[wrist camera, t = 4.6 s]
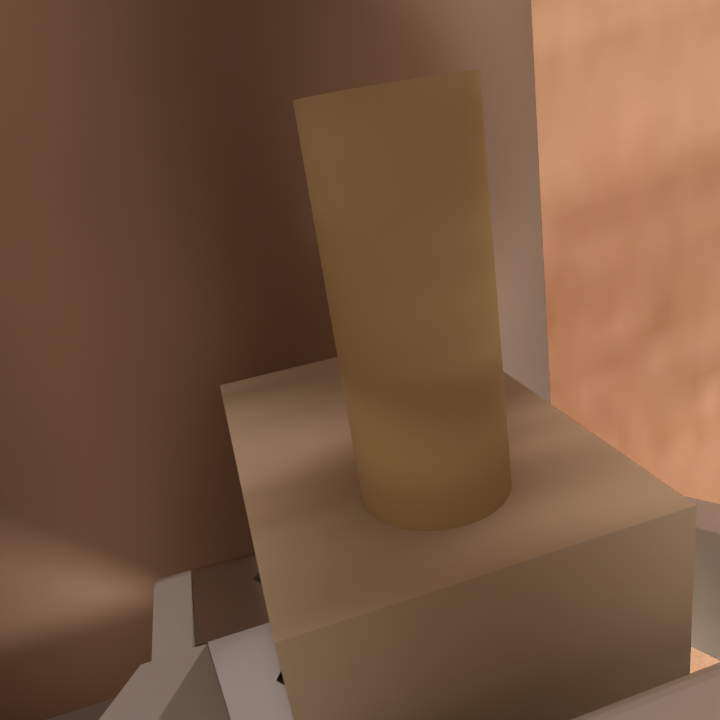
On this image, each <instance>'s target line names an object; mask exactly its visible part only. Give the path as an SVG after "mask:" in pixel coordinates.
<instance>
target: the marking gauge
mask: <svg viewBox="0 0 720 720" xmlns="http://www.w3.org/2000/svg"><path fill="white" fill-rule="evenodd" d="M293 105H294V111H295V116H296V122H297V128H298V134H299V139H300V145H301V151H302V157H303V162H304V168H305V174H306V179H307V185H308V191H309V197H310V202H311V208H312V214H313V219H314V225H315V231H316V237H317V242H318V248H319V254H320V260H321V265H322V271H323V277H324V282H325V288H326V294H327V300H328V305H329V311H330V317H331V322H332V328H333V334H334V340H335V345H336V351H337V357H335V358H331V359H327V360H323V361H318V362H314V363H310V364H306V365H302V366H298V367H294V368H289V369H285V370H281V371H277V372H273V373H269V374H264V375H260V376H256V377H252V378H248V379H244V380H240V381H235V382H231V383H227V384H223V385H220V389H221V393H222V398H223V403H224V408H225V412H226V417H227V422H228V427H229V431H230V436H231V441H232V446H233V450H234V455H235V460H236V465H237V469H238V474H239V479H240V484H241V488H242V493H243V498H244V503H245V507H246V512H247V517H248V522H249V526H250V531H251V536H252V541H253V545H254V550H255V555H256V560H257V564H258V569H259V574H260V579H261V583H262V588H263V593H264V598H265V602H266V607H267V612H268V617H269V621H270V626H271V631H272V636H273V640H274V645H275V649H276V653H277V657H278V660H279V664H280V668H281V672H282V676H283V680H284V684H285V688H286V692H287V696H288V700H289V703H290V707H291V711H292V715H293V719H294V720H571V719H573V718H576V717H579V716H581V715H584V714H586V713H589V712H592V711H594V710H597V709H599V708H602V707H605V706H607V705H610V704H612V703H615V702H618V701H620V700H623V699H625V698H628V697H631V696H633V695H636V694H638V693H641V692H644V691H646V690H649V689H651V688H654V687H657V686H659V685H662V684H665V683H667V682H670V681H672V680H675V679H678V678H680V677H683V676H686V675H688V674H690V653H691V629H692V604H693V580H694V556H695V531H696V507H697V505H696V504H694V503H693V502H691V501H690V500H688V499H687V498H686V497H684V496H683V495H681V494H680V493H678V492H677V491H675V490H674V489H673V488H671V487H670V486H668V485H667V484H665V483H664V482H663V481H661V480H660V479H658V478H657V477H655V476H654V475H652V474H651V473H650V472H648V471H647V470H645V469H644V468H642V467H641V466H639V465H638V464H637V463H635V462H634V461H632V460H631V459H629V458H628V457H626V456H625V455H624V454H622V453H621V452H619V451H618V450H616V449H615V448H613V447H612V446H611V445H609V444H608V443H606V442H605V441H603V440H602V439H601V438H599V437H598V436H596V435H595V434H593V433H592V432H590V431H589V430H588V429H586V428H585V427H583V426H582V425H580V424H579V423H577V422H576V421H575V420H573V419H572V418H570V417H569V416H567V415H566V414H564V413H563V412H562V411H560V410H559V409H557V408H556V407H554V406H553V405H551V404H550V403H549V402H547V401H546V400H544V399H543V398H541V397H540V396H539V395H537V394H536V393H534V392H533V391H531V390H530V389H528V388H527V387H526V386H524V385H523V384H521V383H520V382H518V381H517V380H515V379H514V378H513V377H511V376H510V375H508V374H507V373H505V372H504V371H503V365H502V352H501V339H500V326H499V313H498V300H497V287H496V274H495V261H494V249H493V236H492V223H491V210H490V197H489V184H488V171H487V158H486V146H485V133H484V120H483V107H482V94H481V81H480V70H470V71H462V72H454V73H447V74H440V75H433V76H427V77H420V78H414V79H407V80H401V81H395V82H389V83H383V84H377V85H371V86H365V87H359V88H353V89H347V90H342V91H336V92H331V93H325V94H320V95H315V96H310V97H305V98H300V99H296V100H293Z"/></svg>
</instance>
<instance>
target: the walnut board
mask: <svg viewBox="0 0 720 720" xmlns="http://www.w3.org/2000/svg"><path fill="white" fill-rule="evenodd" d="M470 70H480V81H481V94H482V107H483V120H484V133H485V146H486V158H487V171H488V184H489V197H490V210H491V223H492V236H493V249H494V261H495V274H496V287H497V300H498V313H499V326H500V339H501V352H502V365H503V371H504V372H505V373H507V374H508V375H510V376H511V377H513V378H514V379H515V380H517V381H518V382H520V383H521V384H523V385H524V386H526V387H527V388H528V389H530V390H531V391H533V392H534V393H536V394H537V395H539V396H540V397H541V398H543V399H544V400H546V401H547V402H549V403H550V404H551V401H550V381H549V361H548V340H547V320H546V300H545V280H544V259H543V239H542V219H541V199H540V178H539V158H538V138H537V118H536V98H535V77H534V57H533V37H532V17H531V0H0V720H99V719H100V717H101V716H102V715H103V714H104V712H105V711H106V710H107V708H108V707H109V706H110V704H111V703H112V702H113V700H114V699H115V698H116V696H117V695H118V694H119V693H120V691H121V690H122V689H123V687H124V686H125V685H126V683H127V682H128V681H129V679H130V678H131V677H132V675H133V674H134V673H135V672H136V670H137V669H138V668H139V666H140V665H141V664H144V663H147V662H150V661H151V660H152V632H153V604H154V586H155V584H156V582H157V580H158V579H162V578H165V577H168V576H172V575H175V574H179V573H182V572H185V571H189V570H190V571H193V569H196V568H200V567H204V566H207V565H211V564H215V563H218V562H222V561H226V560H229V559H233V558H237V557H240V556H244V555H248V554H251V553H255V550H254V545H253V541H252V536H251V531H250V526H249V522H248V517H247V512H246V507H245V503H244V498H243V493H242V488H241V484H240V479H239V474H238V469H237V465H236V460H235V455H234V450H233V446H232V441H231V436H230V431H229V427H228V422H227V417H226V412H225V408H224V403H223V398H222V393H221V389H220V385H223V384H227V383H231V382H235V381H240V380H244V379H248V378H252V377H256V376H260V375H264V374H269V373H273V372H277V371H281V370H285V369H289V368H294V367H298V366H302V365H306V364H310V363H314V362H318V361H323V360H327V359H331V358H335V357H337V351H336V345H335V340H334V334H333V328H332V322H331V317H330V311H329V305H328V300H327V294H326V288H325V282H324V277H323V271H322V265H321V260H320V254H319V248H318V242H317V237H316V231H315V225H314V219H313V214H312V208H311V202H310V197H309V191H308V185H307V179H306V174H305V168H304V162H303V157H302V151H301V145H300V139H299V134H298V128H297V122H296V116H295V111H294V105H293V100H296V99H300V98H305V97H310V96H315V95H320V94H325V93H331V92H336V91H342V90H347V89H353V88H359V87H365V86H371V85H377V84H383V83H389V82H395V81H401V80H407V79H414V78H420V77H427V76H433V75H440V74H447V73H454V72H462V71H470Z"/></svg>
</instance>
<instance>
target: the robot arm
mask: <svg viewBox="0 0 720 720" xmlns="http://www.w3.org/2000/svg"><path fill="white" fill-rule="evenodd" d="M684 497H685V496H684ZM686 498H687V499H688V500H690V501H691V502H693V503H694V504H696V505H697V507H696V531H695V556H694V580H693V604H692V629H691V647H693V648H695V649H697V650H699V651H702V652H704V653H706V654H708V655H710V656H712V657H714V658H716V659H718V660H720V504H716V503H712V502H707V501H703V500H698V499H694V498H689V497H686ZM99 720H294V719H293V715H292V711H291V707H290V703H289V700H288V696H287V692H286V688H285V684H284V680H283V676H282V672H281V668H280V664H279V660H278V657H277V653H276V649H275V645H274V640H273V636H272V631H271V626H270V621H269V617H268V612H267V607H266V602H265V598H264V593H263V588H262V583H261V579H260V574H259V569H258V564H257V560H256V555H255V553H251V554H248V555H244V556H240V557H237V558H233V559H229V560H226V561H222V562H218V563H215V564H211V565H207V566H204V567H200V568H196V569H193V571H190V570H189V571H185V572H182V573H179V574H175V575H172V576H168V577H165V578H162V579H158V580H157V582H156V584H155V586H154V604H153V632H152V660H151V661H150V662H147V663H144V664H141V665H140V666H139V668H138V669H137V670H136V672H135V673H134V674H133V675H132V677H131V678H130V679H129V681H128V682H127V683H126V685H125V686H124V687H123V689H122V690H121V691H120V693H119V694H118V695H117V696H116V698H115V699H114V700H113V702H112V703H111V704H110V706H109V707H108V708H107V710H106V711H105V712H104V714H103V715H102V716H101V717H100V719H99ZM571 720H720V663H717V664H714V665H712V666H709V667H707V668H704V669H701V670H699V671H696V672H693V673H691V674H688V675H686V676H683V677H680V678H678V679H675V680H672V681H670V682H667V683H665V684H662V685H659V686H657V687H654V688H651V689H649V690H646V691H644V692H641V693H638V694H636V695H633V696H631V697H628V698H625V699H623V700H620V701H618V702H615V703H612V704H610V705H607V706H605V707H602V708H599V709H597V710H594V711H592V712H589V713H586V714H584V715H581V716H579V717H576V718H573V719H571Z"/></svg>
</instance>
